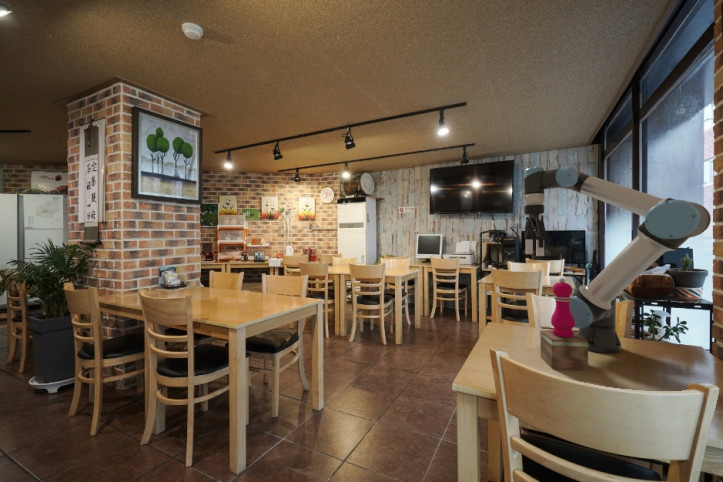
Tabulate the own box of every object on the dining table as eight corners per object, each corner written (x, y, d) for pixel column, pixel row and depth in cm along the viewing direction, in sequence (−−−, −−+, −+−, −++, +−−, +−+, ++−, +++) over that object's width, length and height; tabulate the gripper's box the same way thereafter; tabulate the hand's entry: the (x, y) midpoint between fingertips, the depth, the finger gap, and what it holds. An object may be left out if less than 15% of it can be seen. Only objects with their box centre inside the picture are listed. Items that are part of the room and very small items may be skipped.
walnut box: (573, 358, 121) (573, 331, 120) (588, 370, 110) (588, 340, 109) (540, 356, 123) (540, 330, 122) (551, 368, 112) (551, 339, 111)
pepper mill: (578, 338, 112) (578, 279, 112) (555, 337, 113) (554, 279, 113) (570, 332, 119) (569, 276, 119) (548, 331, 120) (547, 276, 120)
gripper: (516, 207, 153) (516, 253, 153) (534, 201, 128) (535, 256, 128) (533, 207, 151) (534, 253, 151) (555, 201, 127) (556, 256, 127)
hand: (534, 255), depth 140 cm, fingers open, 13 cm apart
